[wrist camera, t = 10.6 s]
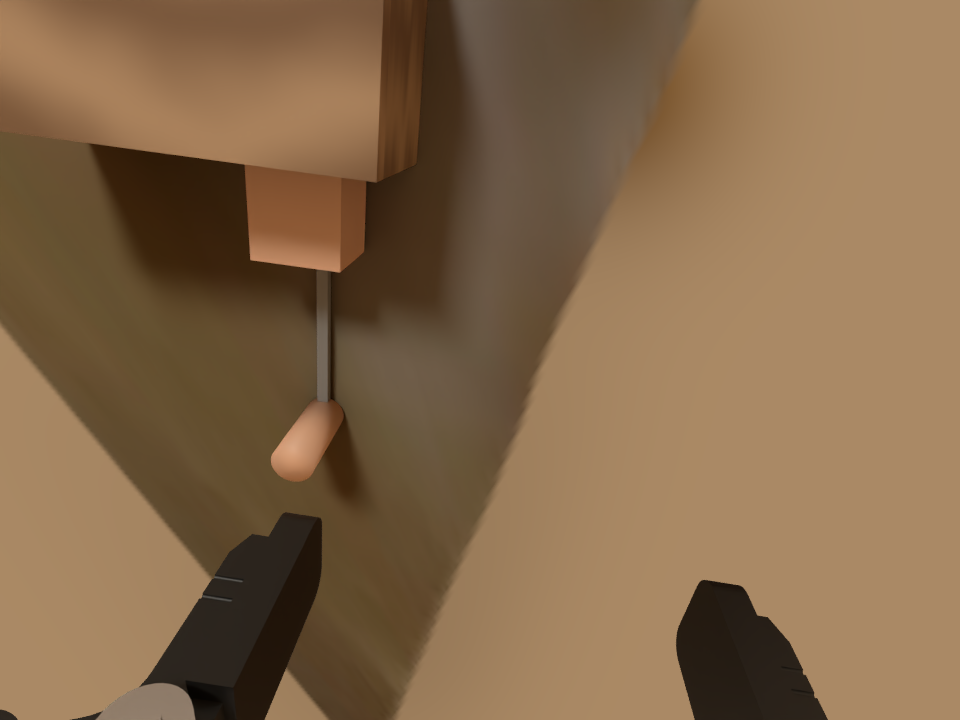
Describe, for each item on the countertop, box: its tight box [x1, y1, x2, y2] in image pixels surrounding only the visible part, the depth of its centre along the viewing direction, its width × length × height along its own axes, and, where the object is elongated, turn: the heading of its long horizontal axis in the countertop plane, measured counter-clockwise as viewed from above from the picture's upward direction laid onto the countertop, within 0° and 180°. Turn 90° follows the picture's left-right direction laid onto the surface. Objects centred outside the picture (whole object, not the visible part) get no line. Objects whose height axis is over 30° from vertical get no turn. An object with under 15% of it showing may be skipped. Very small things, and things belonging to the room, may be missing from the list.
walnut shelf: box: [0, 0, 428, 182], centre depth 24 cm, size 12×20×9 cm, turn 83°
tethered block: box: [245, 165, 366, 482], centre depth 31 cm, size 18×5×6 cm, turn 173°
